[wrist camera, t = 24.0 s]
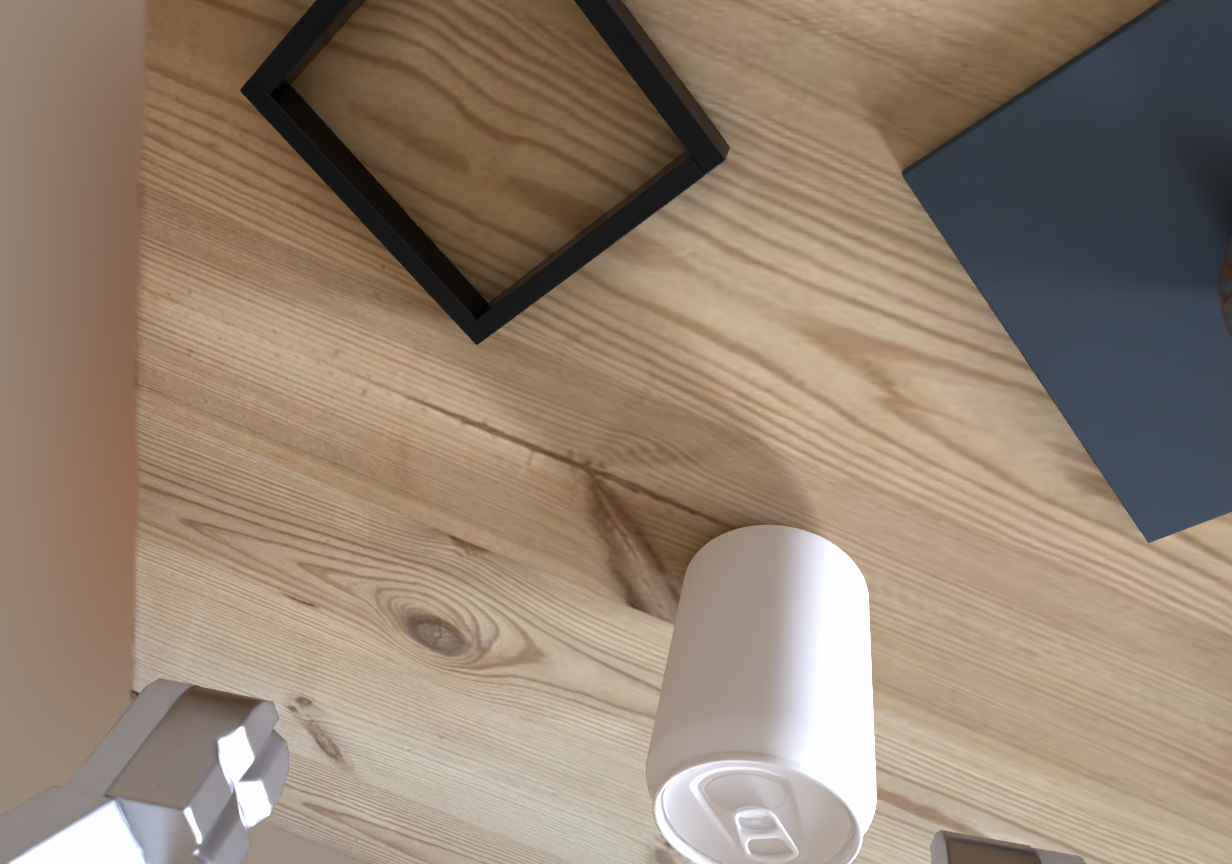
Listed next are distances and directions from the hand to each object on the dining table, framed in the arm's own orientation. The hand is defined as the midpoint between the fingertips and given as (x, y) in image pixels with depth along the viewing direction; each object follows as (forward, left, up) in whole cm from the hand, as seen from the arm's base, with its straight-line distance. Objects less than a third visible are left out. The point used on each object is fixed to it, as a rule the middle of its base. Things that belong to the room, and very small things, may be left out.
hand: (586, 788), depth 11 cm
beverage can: (+16, -10, -24) cm, 31 cm away
